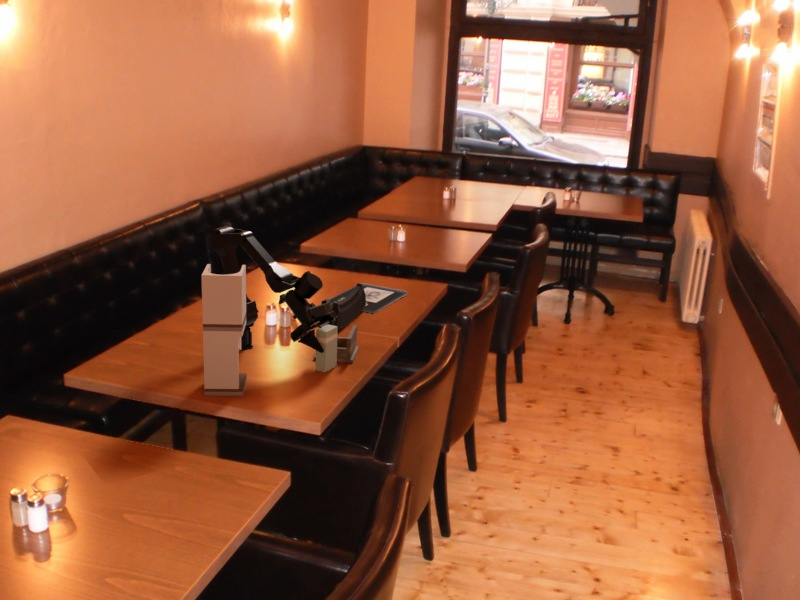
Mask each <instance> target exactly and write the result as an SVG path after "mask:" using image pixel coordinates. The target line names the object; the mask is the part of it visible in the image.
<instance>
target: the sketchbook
mask: <svg viewBox="0 0 800 600" xmlns="http://www.w3.org/2000/svg"><path fill="white" fill-rule="evenodd" d="M360 284H362V288H363V289H364V291H365V295H366V304H365V306H364V307H363V309H362V310H361V311H360V312H362V311H363V312H364V313H367V312H368V313H369V314H372V313H374V314H376V313H378V312H379V311H382V310H383V309H384V307H385V308H387V307H388V306H390V305H392V304H393V302H394V303H396V302H397V301H399V300H401V299H403V298H404V297H406V296H408V295H407V294H408V293H409V292H408V291H407V290H403V289H399V288H398V289H397V288H392V287H387V286H381V285H376V284H370V283H365V282H361V283H360ZM355 287H356V285H355V286H353V287H351V288H349V289H346V291H343V292H341V293H339V294H337V295H336V296H333V297H331V298H330V299H329V298H328V299H329V300H330V301H331V302H332V304H333V303H339V302H340V301H342V300H343V299H345V298H346V297H347V296H348V295H349V294H350V293H351V292H352V291H353V290H354V288H355ZM402 297H403V298H402ZM400 298H401V299H400ZM395 301H396V302H395ZM386 306H387V307H386ZM377 311H378V312H377ZM375 312H376V313H375Z"/></svg>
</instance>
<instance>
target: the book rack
mask: <svg viewBox="0 0 800 600" xmlns="http://www.w3.org/2000/svg"><path fill="white" fill-rule="evenodd" d="M337 338H338V341H339V344H338V345H337V361H338V362H337V363H345V364H346V362H347V364H354V361H355V359H356V357H357V354H358V351H359V349H360V345H358V344H357V343H358V342H357V340H358V325H355V324H353V326H352V328H351V330H350V331H349V334H348V336H347V337H343V336H337ZM355 356H356V357H355ZM313 359H314V360H313V361H316V360H315V359H316V352H315V354H314V356H313Z"/></svg>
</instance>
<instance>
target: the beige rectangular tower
mask: <svg viewBox="0 0 800 600" xmlns="http://www.w3.org/2000/svg"><path fill="white" fill-rule="evenodd" d="M211 265H212V264H211V263H207V264H206V266H205V268H204V269H203V272H202V274H201V308H202V337H203V338H202V344H203V345H202V346H203V347H202V349H203V381H204V382H203V384H204V385H203V388H204V391H203V392H204V396H219V397H220V396H222V397H223V396H225V397H227V396H231V397H233V396H234V395H235V396H236V397H243V396H244V394H243V393H245V390H244V389H246V384H247V381H248V376H247V375H248V374H247V373H240V365H239V364H240V363H239V362H240V360H239V359H240V355H239V353H240V352H241V351H242V350H241V336H243V332H244V329H245V326H246V294H247V265H246V264H242V265H241V268H240V272H238V273H235V274H228V275H225V274H216V273H212V267H211ZM235 396H234V397H235Z"/></svg>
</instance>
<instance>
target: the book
mask: <svg viewBox="0 0 800 600" xmlns="http://www.w3.org/2000/svg"><path fill="white" fill-rule="evenodd" d="M315 330H316V331H315V337H316V338H317V340H318V341H319V343H320V345H321V346H322V348H323V350H324V352H323V353H320V352H318V351H316V350H315V353H316V360H315V371H316V370H317V372H320V371H321V373H325V372H326V373H328V372H329V371H331V370H333V369H335V368H336V367H337V366H338V365H337V364H338V362H337V337H338V336H339V335H338V331H339V330H338V326H333V325H329V324H328V325H326V326H324V327H322V328H317V329H315ZM335 366H336V367H335ZM332 368H333V369H332ZM327 371H328V372H327ZM326 373H325V374H326Z"/></svg>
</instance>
